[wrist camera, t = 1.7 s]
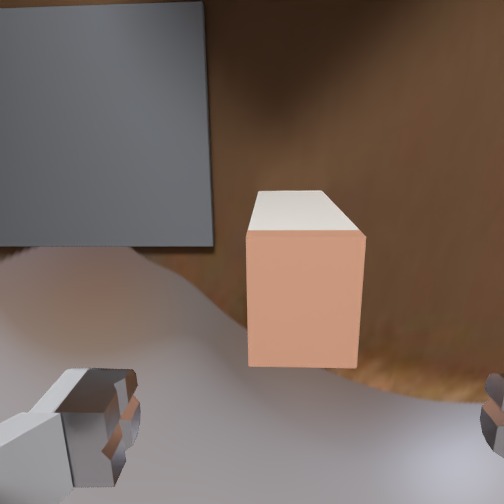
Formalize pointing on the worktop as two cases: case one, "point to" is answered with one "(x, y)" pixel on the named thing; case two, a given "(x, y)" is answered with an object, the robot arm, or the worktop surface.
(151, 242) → the mat
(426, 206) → the worktop surface
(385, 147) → the worktop surface
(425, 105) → the worktop surface
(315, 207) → the block
